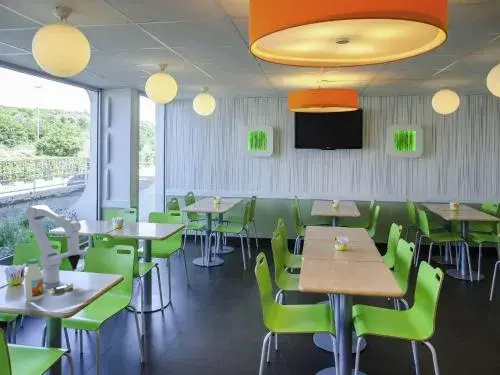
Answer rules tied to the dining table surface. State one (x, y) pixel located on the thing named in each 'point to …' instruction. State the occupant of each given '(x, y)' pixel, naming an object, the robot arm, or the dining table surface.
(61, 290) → the latch board
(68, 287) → the swing bar
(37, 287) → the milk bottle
